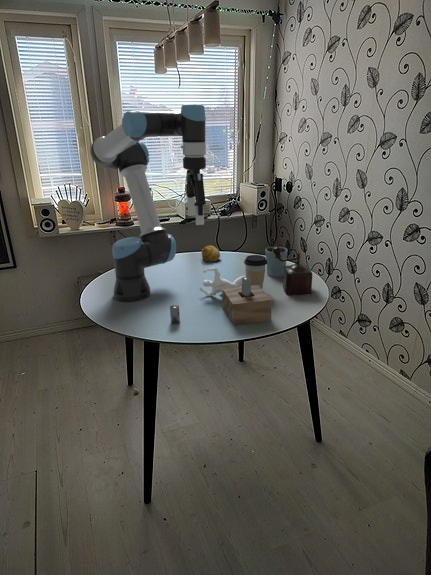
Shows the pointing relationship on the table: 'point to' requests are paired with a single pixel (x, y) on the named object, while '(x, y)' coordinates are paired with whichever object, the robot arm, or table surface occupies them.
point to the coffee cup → (255, 269)
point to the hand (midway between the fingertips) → (195, 220)
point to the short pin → (174, 314)
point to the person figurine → (220, 283)
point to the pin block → (246, 305)
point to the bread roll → (210, 253)
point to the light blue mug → (275, 262)
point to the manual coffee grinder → (295, 276)
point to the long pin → (246, 287)
